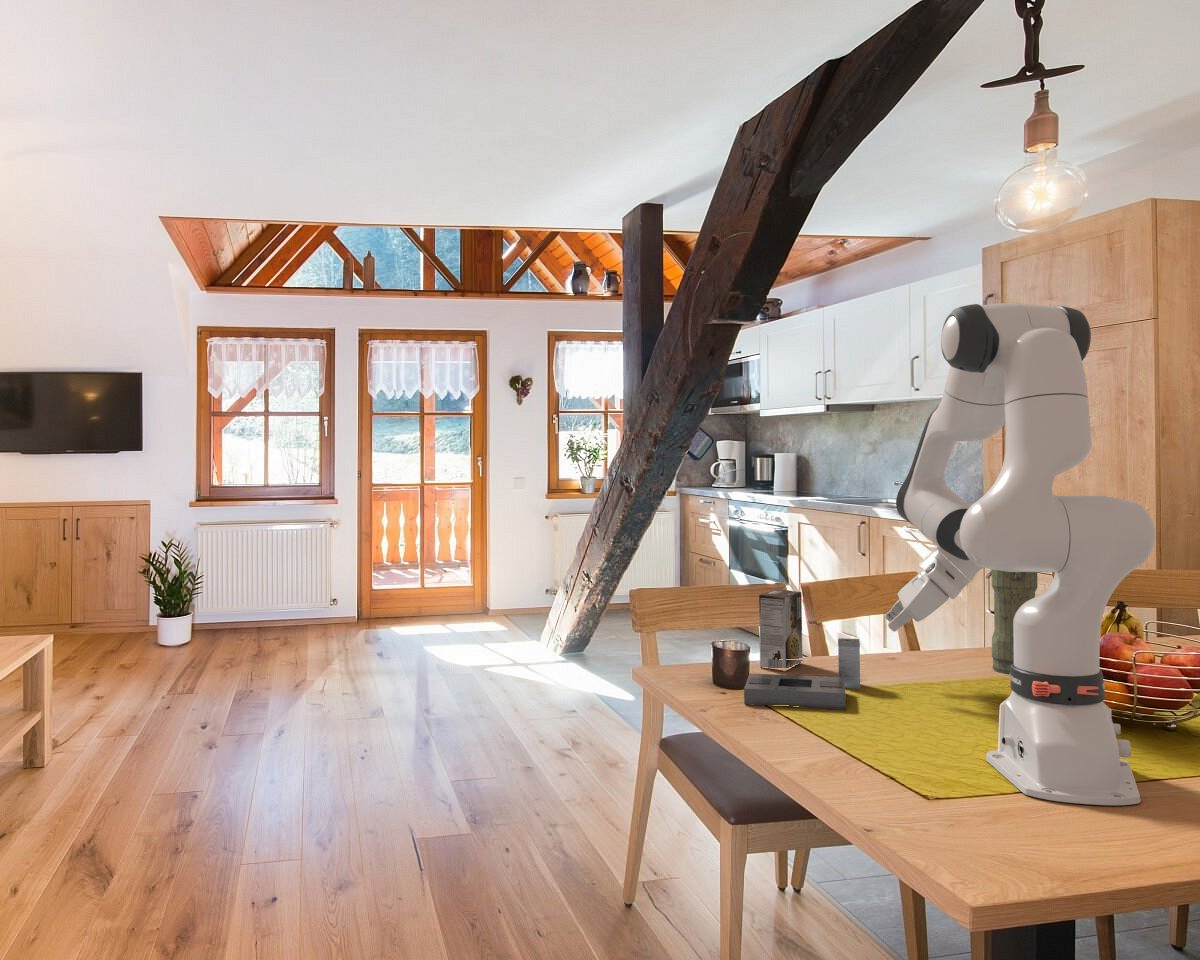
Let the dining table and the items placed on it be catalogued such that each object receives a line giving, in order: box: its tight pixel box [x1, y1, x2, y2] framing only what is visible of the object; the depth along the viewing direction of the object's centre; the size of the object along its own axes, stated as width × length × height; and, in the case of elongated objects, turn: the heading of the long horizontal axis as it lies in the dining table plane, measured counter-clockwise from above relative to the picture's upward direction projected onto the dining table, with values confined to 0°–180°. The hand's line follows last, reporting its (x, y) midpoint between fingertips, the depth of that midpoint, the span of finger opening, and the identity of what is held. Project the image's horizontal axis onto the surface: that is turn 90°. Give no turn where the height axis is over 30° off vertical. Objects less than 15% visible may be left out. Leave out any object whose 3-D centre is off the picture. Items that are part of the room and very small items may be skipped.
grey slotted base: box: [743, 673, 847, 711], centre depth 167 cm, size 12×18×3 cm, turn 76°
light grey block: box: [837, 637, 861, 690], centre depth 176 cm, size 4×4×9 cm
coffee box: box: [758, 589, 804, 668], centre depth 194 cm, size 9×6×16 cm
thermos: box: [990, 569, 1038, 675], centre depth 187 cm, size 9×12×35 cm
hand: (888, 624), depth 174 cm, fingers open, 8 cm apart
